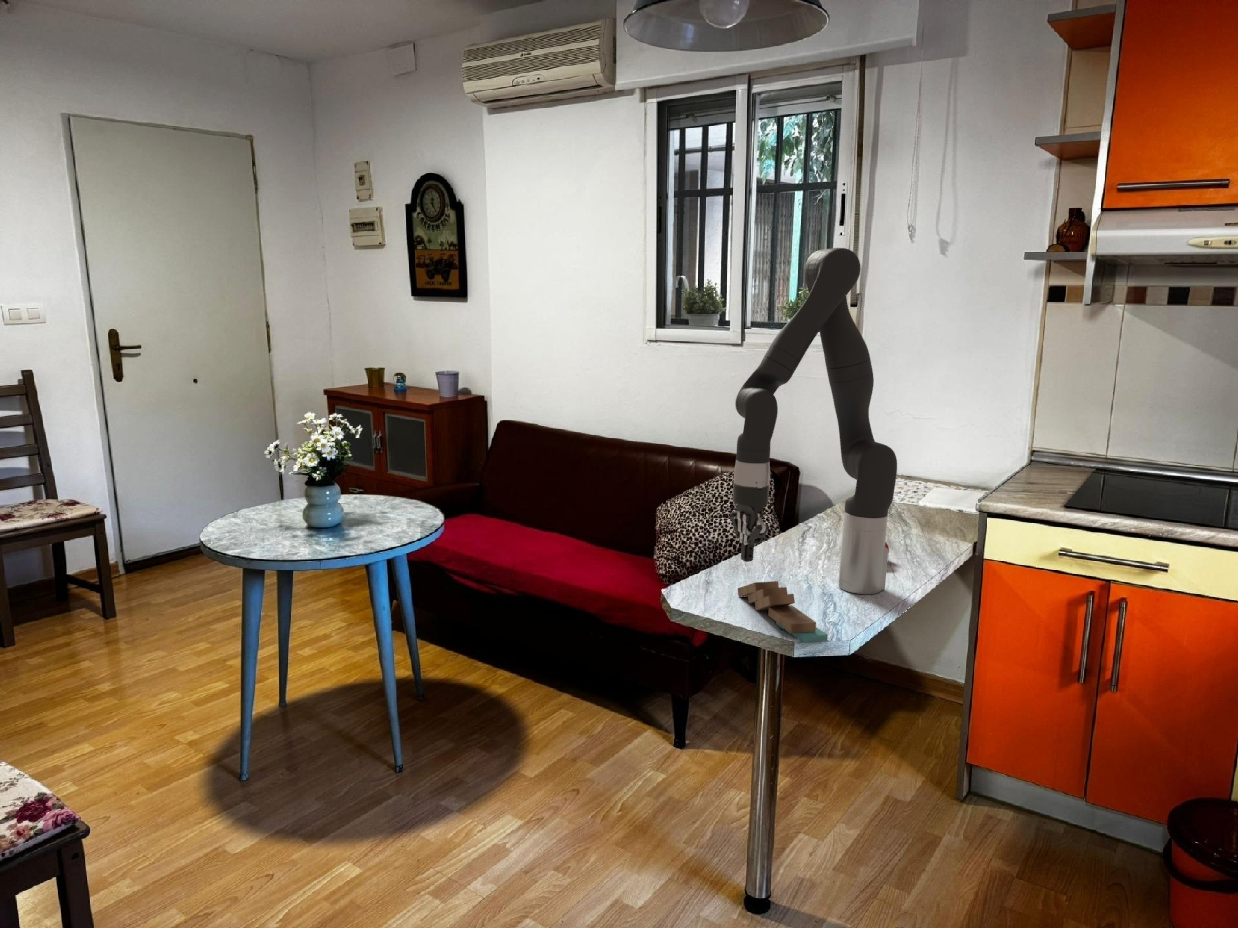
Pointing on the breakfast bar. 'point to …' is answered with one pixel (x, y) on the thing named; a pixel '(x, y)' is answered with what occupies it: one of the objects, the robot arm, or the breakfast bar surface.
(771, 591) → the domino
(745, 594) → the domino
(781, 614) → the domino
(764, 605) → the domino
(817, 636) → the teal domino
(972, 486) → the breakfast bar surface
